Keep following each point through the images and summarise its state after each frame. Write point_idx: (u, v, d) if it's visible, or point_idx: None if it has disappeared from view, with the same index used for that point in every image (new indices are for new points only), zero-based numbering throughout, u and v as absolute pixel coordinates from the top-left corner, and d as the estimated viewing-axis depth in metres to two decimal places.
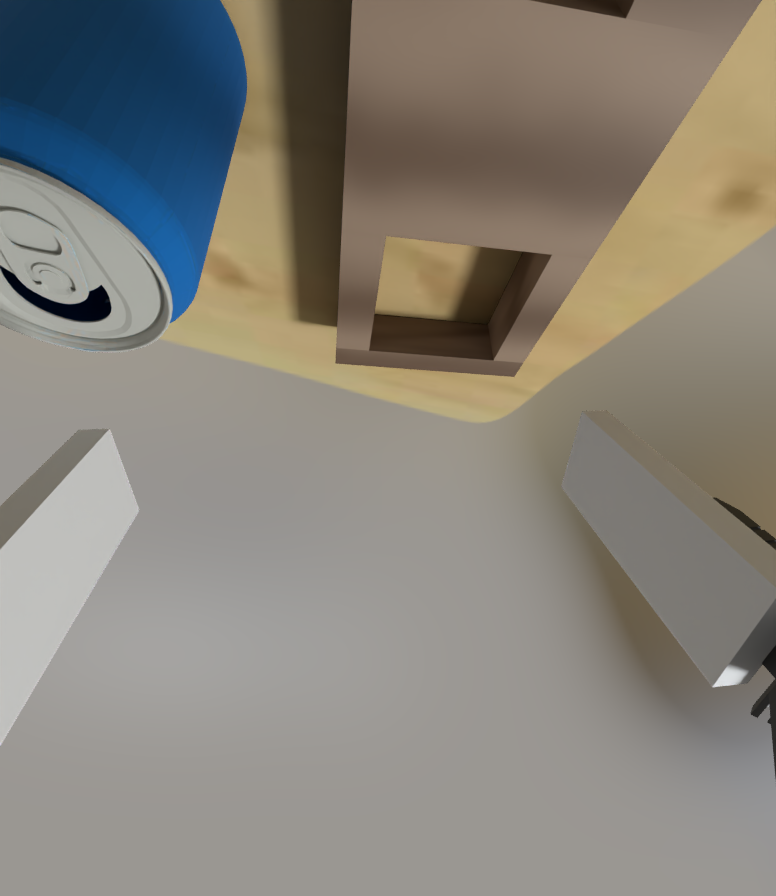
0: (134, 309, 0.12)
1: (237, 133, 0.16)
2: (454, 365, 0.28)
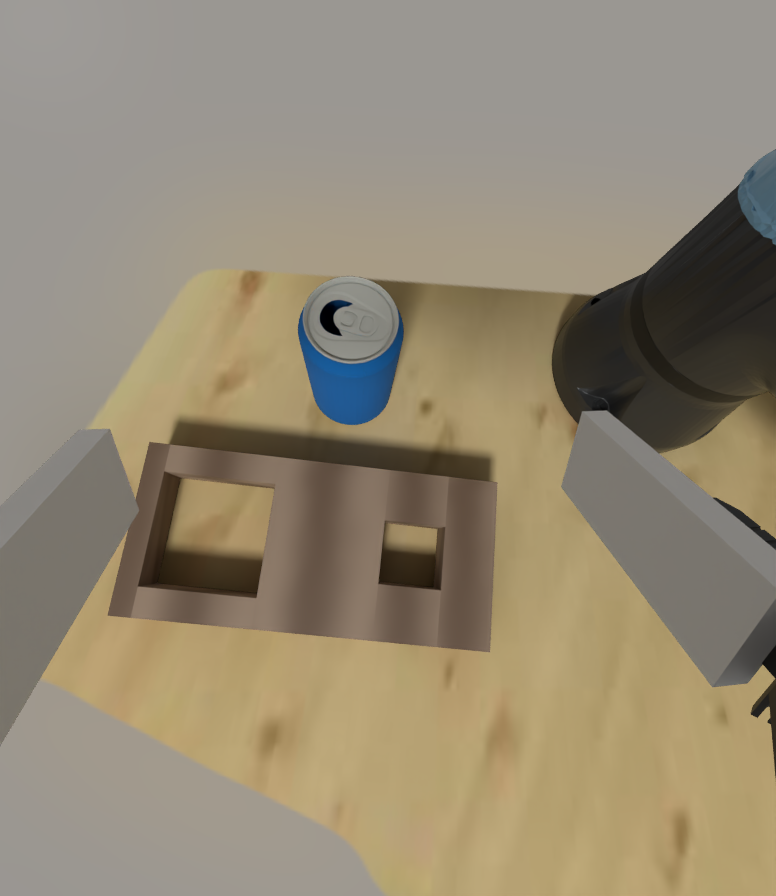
0: (329, 342, 0.25)
1: (331, 412, 0.34)
2: (134, 549, 0.30)
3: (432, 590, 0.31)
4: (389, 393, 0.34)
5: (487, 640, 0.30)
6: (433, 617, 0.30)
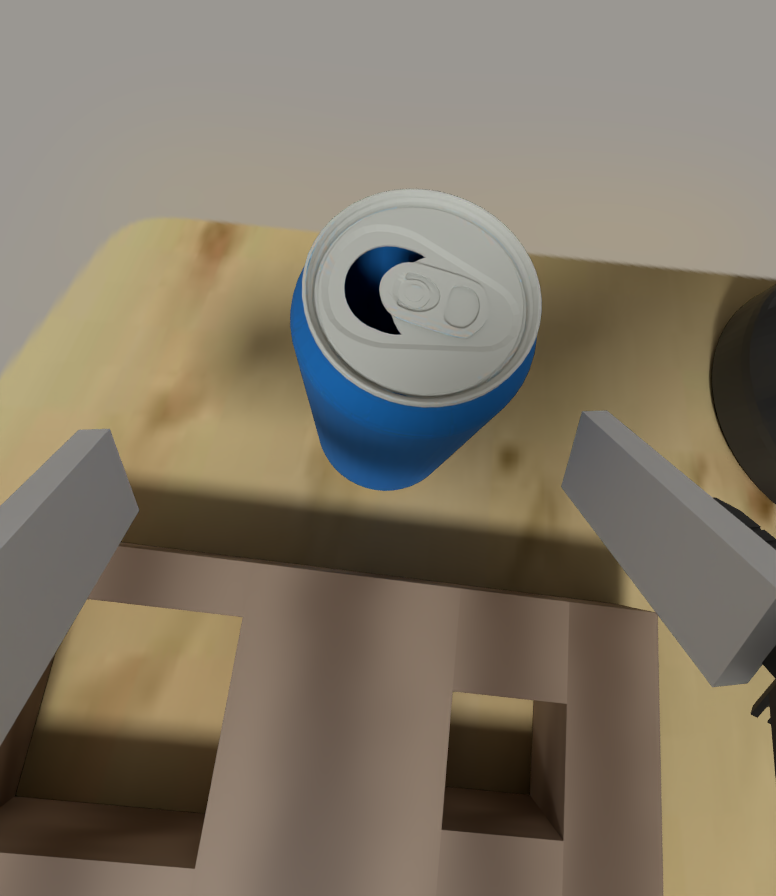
0: (368, 349, 0.10)
1: (351, 474, 0.18)
2: None
3: (546, 840, 0.16)
4: None
5: None
6: None
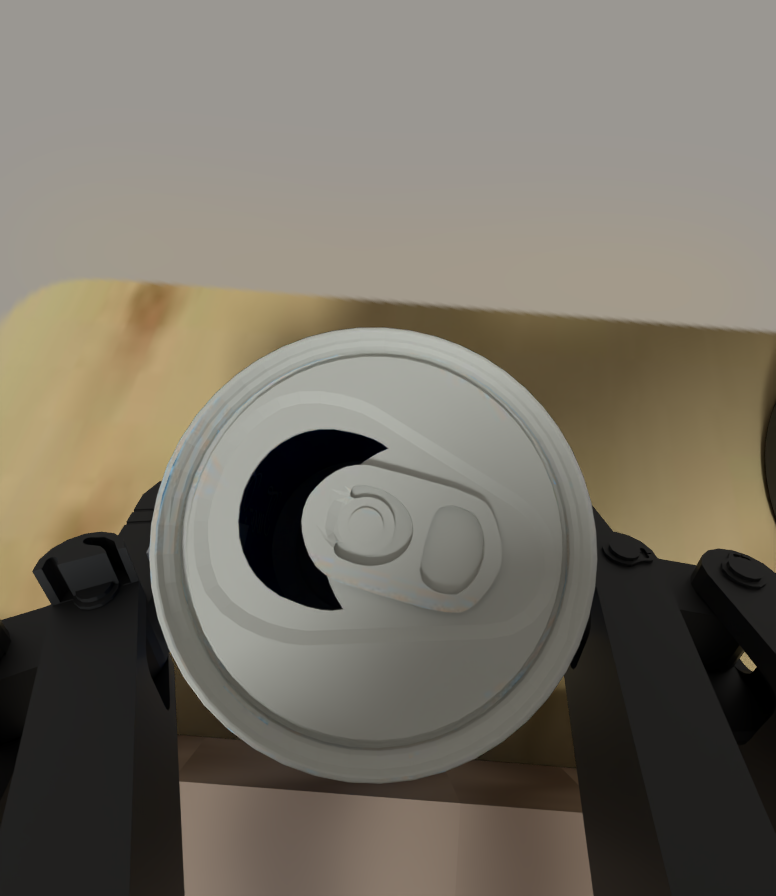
0: (277, 650, 0.05)
1: None
2: None
3: None
4: None
5: None
6: None
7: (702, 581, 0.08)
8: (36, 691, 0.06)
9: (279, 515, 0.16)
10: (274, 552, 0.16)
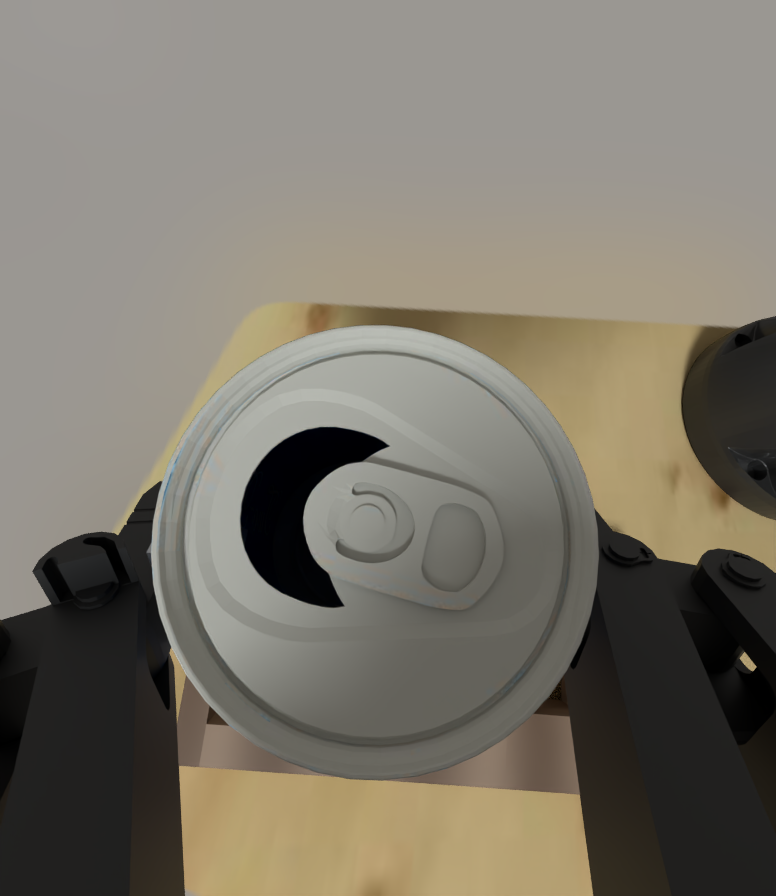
0: (278, 648, 0.05)
1: None
2: None
3: None
4: None
5: None
6: None
7: (702, 581, 0.08)
8: (37, 692, 0.06)
9: (280, 514, 0.16)
10: (275, 551, 0.16)
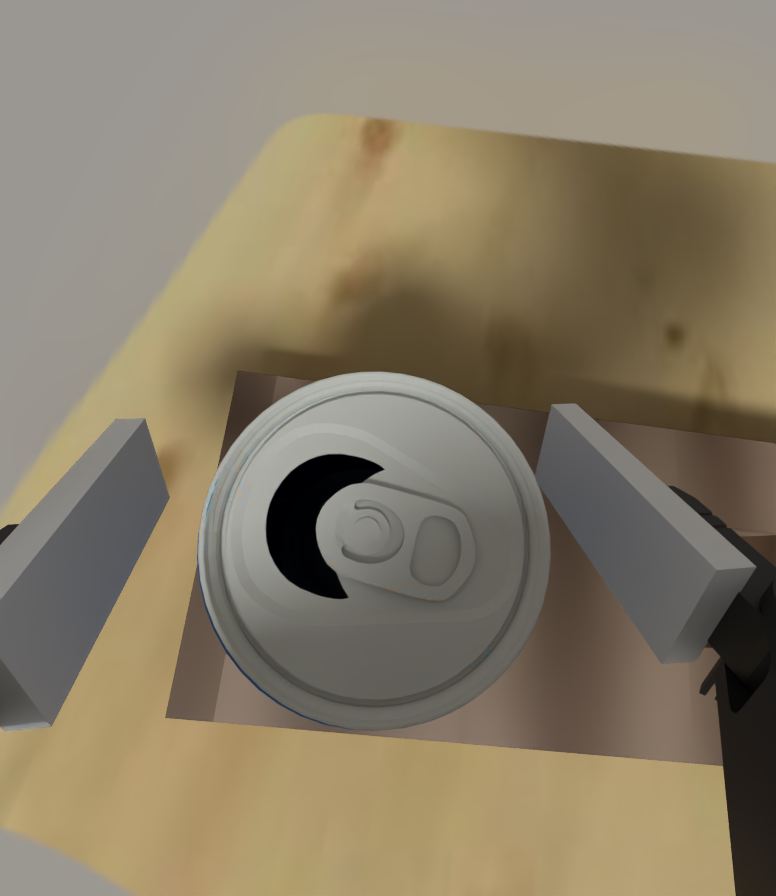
0: (297, 630, 0.07)
1: None
2: None
3: None
4: None
5: None
6: None
7: None
8: None
9: (286, 519, 0.18)
10: (282, 553, 0.17)
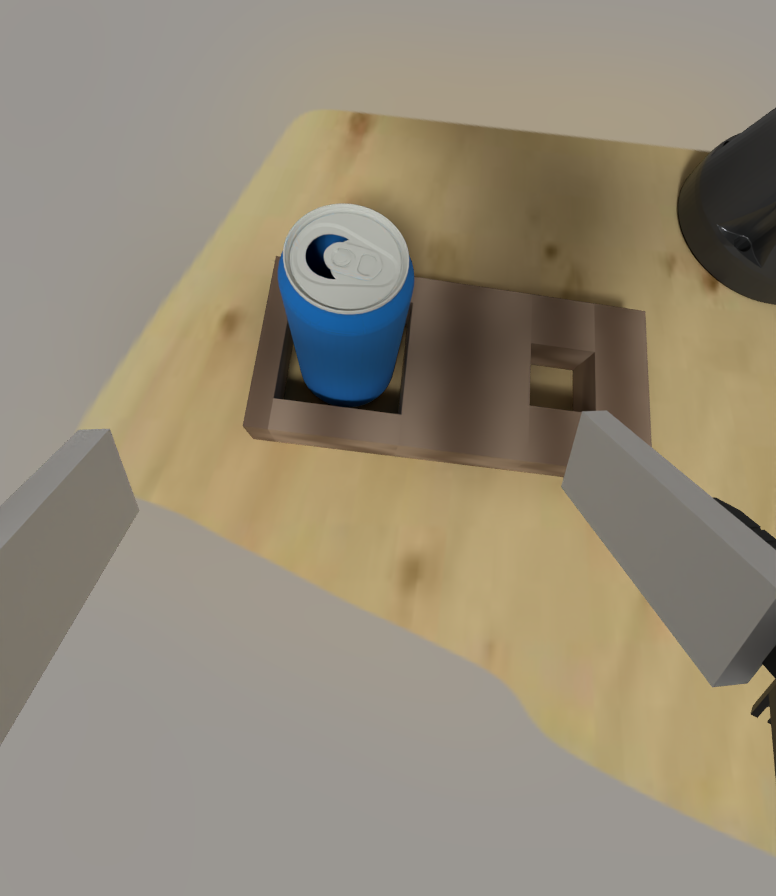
0: (317, 286, 0.19)
1: (322, 391, 0.27)
2: (266, 361, 0.27)
3: None
4: (393, 367, 0.28)
5: None
6: None
7: None
8: None
9: None
10: None
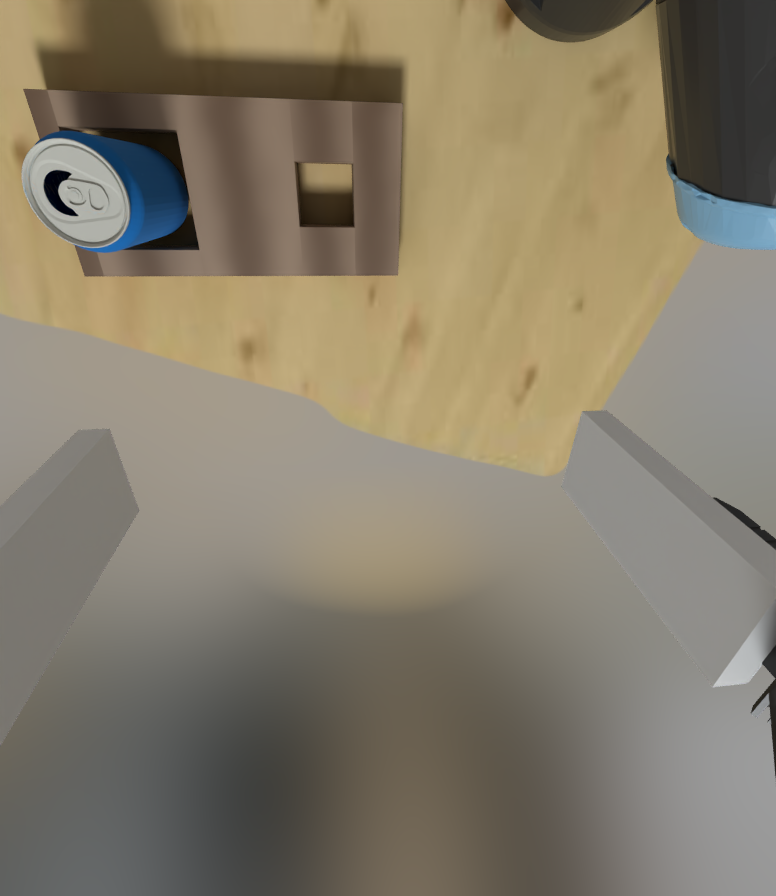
0: (69, 225, 0.26)
1: None
2: None
3: (347, 228, 0.36)
4: (179, 208, 0.34)
5: (395, 266, 0.38)
6: (350, 251, 0.37)
7: None
8: None
9: None
10: None
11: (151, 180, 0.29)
